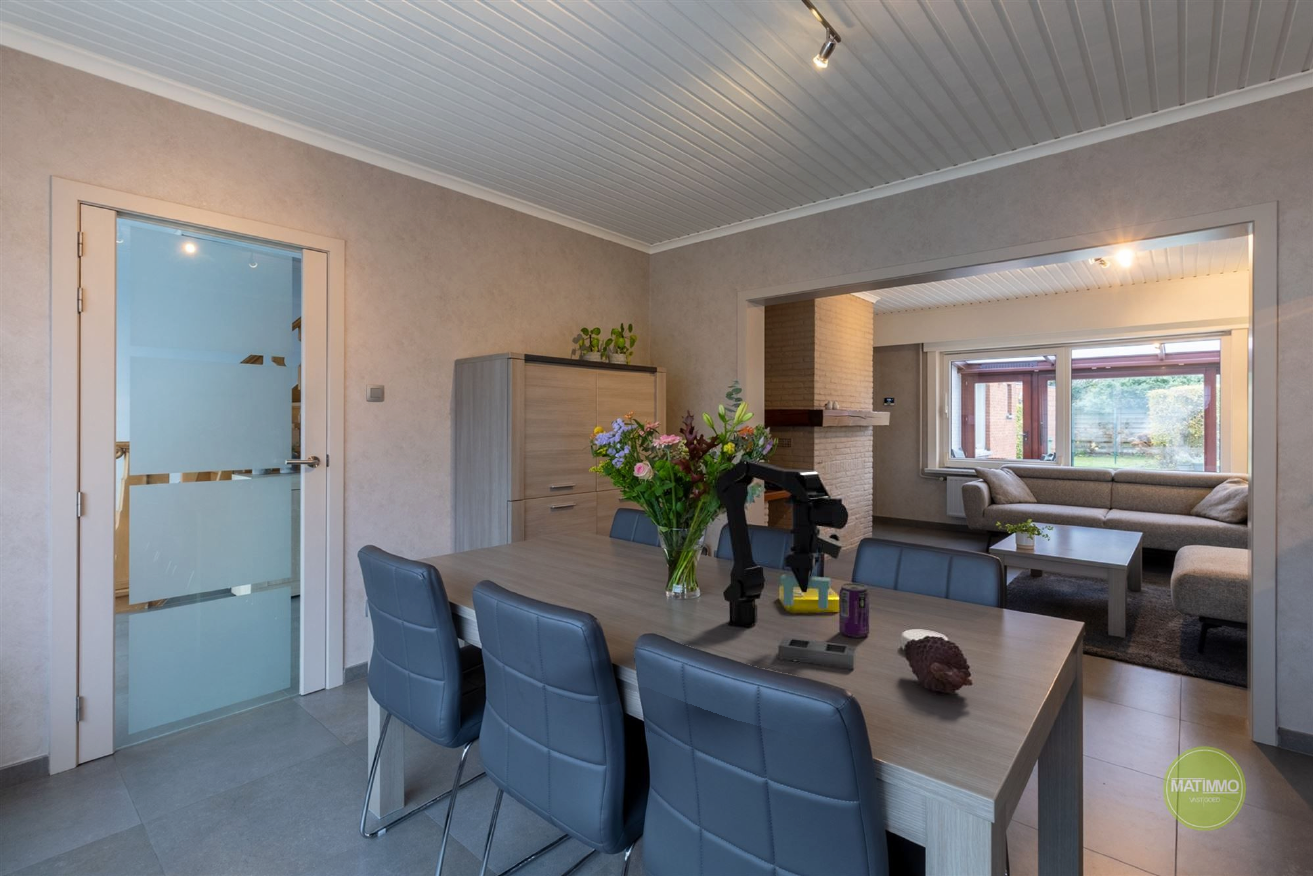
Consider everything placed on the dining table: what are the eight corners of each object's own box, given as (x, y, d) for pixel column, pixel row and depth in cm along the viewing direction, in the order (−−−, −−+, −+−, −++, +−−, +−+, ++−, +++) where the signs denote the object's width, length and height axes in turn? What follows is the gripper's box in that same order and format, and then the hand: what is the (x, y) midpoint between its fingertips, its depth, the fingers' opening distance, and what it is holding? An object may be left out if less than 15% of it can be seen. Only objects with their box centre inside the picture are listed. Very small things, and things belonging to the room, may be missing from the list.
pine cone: (888, 672, 127) (888, 625, 127) (929, 668, 129) (929, 621, 129) (944, 711, 109) (944, 656, 109) (992, 705, 111) (992, 651, 111)
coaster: (921, 661, 133) (921, 645, 133) (892, 645, 143) (892, 630, 143) (958, 656, 136) (958, 640, 136) (927, 641, 145) (927, 626, 145)
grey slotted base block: (778, 658, 135) (778, 645, 134) (783, 649, 140) (783, 636, 140) (853, 669, 128) (853, 655, 128) (856, 659, 134) (856, 646, 134)
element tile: (842, 614, 167) (842, 597, 167) (787, 614, 167) (787, 597, 167) (828, 598, 182) (827, 583, 182) (778, 599, 182) (778, 583, 182)
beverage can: (871, 640, 146) (871, 590, 146) (840, 638, 147) (840, 589, 147) (867, 630, 153) (866, 583, 153) (838, 628, 154) (837, 581, 154)
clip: (781, 604, 142) (780, 577, 142) (783, 601, 145) (783, 574, 145) (829, 609, 138) (828, 581, 138) (830, 605, 141) (830, 578, 141)
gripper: (835, 532, 130) (836, 604, 130) (844, 519, 147) (845, 583, 147) (783, 529, 134) (784, 599, 134) (798, 518, 151) (799, 580, 151)
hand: (805, 590), depth 142 cm, fingers closed on clip, 3 cm apart
